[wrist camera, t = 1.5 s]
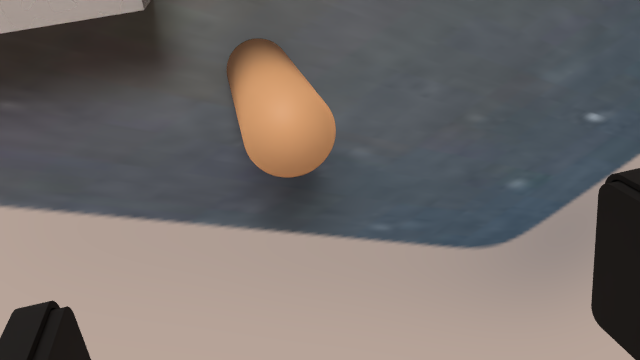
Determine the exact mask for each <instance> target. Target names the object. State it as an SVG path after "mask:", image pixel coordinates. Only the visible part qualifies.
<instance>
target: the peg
mask: <svg viewBox="0 0 640 360" xmlns="http://www.w3.org/2000/svg"><path fill="white" fill-rule="evenodd" d="M227 77H228V81H229V85H230V89H231V93H232V97H233V101H234V105H235V109H236V113H237V117H238V121H239V126H240V130H241V134H242V138H243V142H244V146H245V149H246V151H247V154H248V155H249V157H250V159H251V160H252V161H253V163H254V164H255V165H256V166H258V167H259V168H260V169H261V170H263V171H265V172H266V173H268V174H271V175H274V176H278V177H297V176H301V175H304V174H306V173H309V172H311V171H312V170H314V169H315V168H317V167H318V166H319V165H320V164H321V163H323V161H324V160H325V159H326V158H327V156H328V155H329V153H330V151H331V149H332V147H333V144H334V140H335V133H336V128H335V121H334V118H333V115H332V113H331V111H330V109H329V107H328V106H327V105H326V103H325V102H324V101H323V100H322V98H321V97H320V96H319V95H318V93H317V92H316V91H315V90H314V88H313V87H312V86H311V85H310V83H309V82H308V81H307V80H306V78H305V77H304V76H303V75H302V73H301V72H300V71H299V70H298V68H297V67H296V66H295V65H294V64H293V62H292V61H291V60H290V59H289V57H288V56H287V55H286V54H285V52H284V51H283V50H282V49H281V48H280V47H279V46H278V45H277V44H275V43H274V42H271V41H269V40H266V39H251V40H247V41H245V42H243V43H241V44H240V45H238V46H237V47H236V48H235V49H234V51H233V52H232V53H231V55H230V57H229V60H228V63H227Z"/></svg>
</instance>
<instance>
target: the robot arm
mask: <svg viewBox="0 0 640 360" xmlns="http://www.w3.org/2000/svg"><path fill="white" fill-rule="evenodd" d="M591 306H592V313H593V316H594V318H595V320H596V322H597V323H598V324H599V326H600V327H601V328H602V329H603V330H604V331H606V332H607V333H608V334H609V335H610V336H611V337H612V338H613V339H614V340H615V341H616V342H617V343H618V344H619V345H621V346H622V347H623V348H624V349H625V350H626V351H627V352H628V353H629V354H630V355H631V356H632V357H633V358H634V359H636V360H640V168H638V169H634V170H629V171H625V172H620V173H616V174H612V175H610V176H609V177H608V178H607V180H606V182H605V184H604V185H602V186H601V188H600V189H599V194H598V210H597V226H596V242H595V257H594V273H593V289H592V304H591ZM0 360H91V359H90V356H89V353H88V351H87V348H86V345H85V342H84V340H83V337H82V334H81V332H80V329H79V327H78V324H77V321H76V319H75V316H74V313H73V311H72V310H71V309H70V308H69V307H64V308H60V307H59V305H58V304H57V303H56V302H54V301H49V302H45V303H40V304H36V305H32V306H27V307H23V308H18V309H15V310H14V312H13V313H12V315H11V317H10V319H9V321H8V323H7V325H6V327H5V329H4V332H3V334H2V336H1V338H0Z"/></svg>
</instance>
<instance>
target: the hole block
mask: <svg viewBox="0 0 640 360" xmlns="http://www.w3.org/2000/svg"><path fill="white" fill-rule="evenodd" d="M150 1H151V0H0V34H1V33H7V32H13V31H19V30H25V29H32V28H38V27H44V26H50V25H56V24H62V23H68V22H74V21H81V20H87V19H93V18H99V17H105V16H111V15H117V14H123V13H129V12H136V11H142V10H144V9H145V8H146V7H147V5H148V4H149V2H150Z"/></svg>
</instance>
